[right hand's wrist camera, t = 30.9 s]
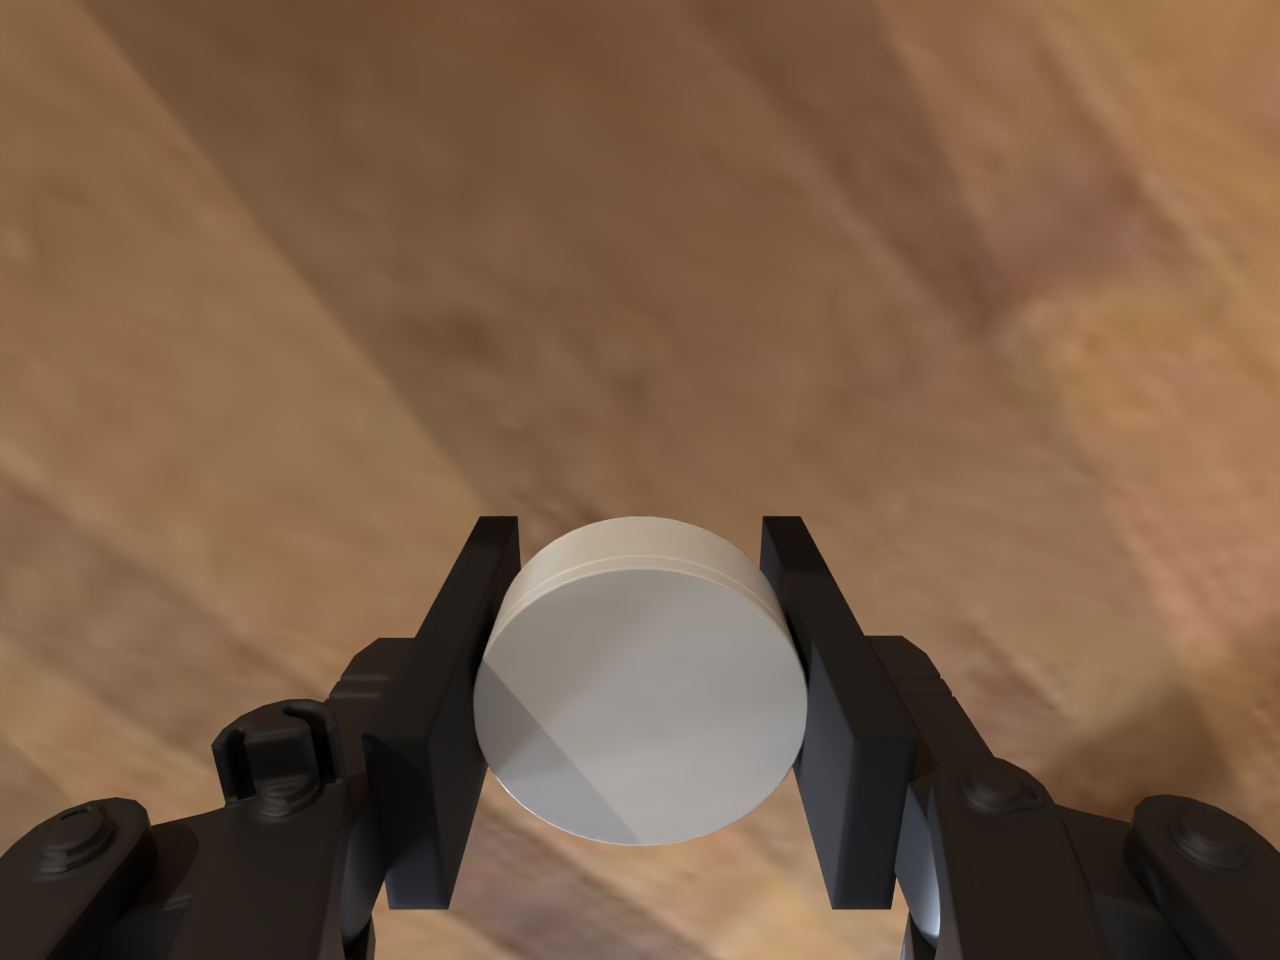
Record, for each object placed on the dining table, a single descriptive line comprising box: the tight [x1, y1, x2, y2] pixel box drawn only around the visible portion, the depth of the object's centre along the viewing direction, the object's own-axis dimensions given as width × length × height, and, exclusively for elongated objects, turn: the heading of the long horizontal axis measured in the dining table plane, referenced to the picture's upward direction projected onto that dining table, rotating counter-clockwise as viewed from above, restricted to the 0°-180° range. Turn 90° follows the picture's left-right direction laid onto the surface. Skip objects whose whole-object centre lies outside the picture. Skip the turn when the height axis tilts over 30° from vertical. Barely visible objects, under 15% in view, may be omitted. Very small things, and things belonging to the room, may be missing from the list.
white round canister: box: [473, 517, 808, 846], centre depth 11 cm, size 5×5×2 cm
